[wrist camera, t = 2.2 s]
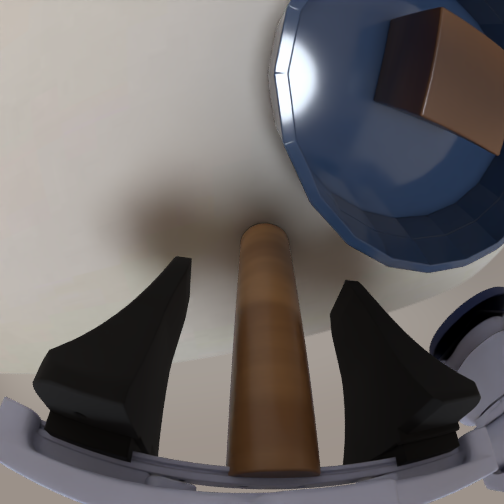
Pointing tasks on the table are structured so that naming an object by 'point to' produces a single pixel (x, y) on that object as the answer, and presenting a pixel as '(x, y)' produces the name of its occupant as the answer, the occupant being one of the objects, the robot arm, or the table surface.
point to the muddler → (269, 366)
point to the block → (445, 76)
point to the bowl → (381, 138)
